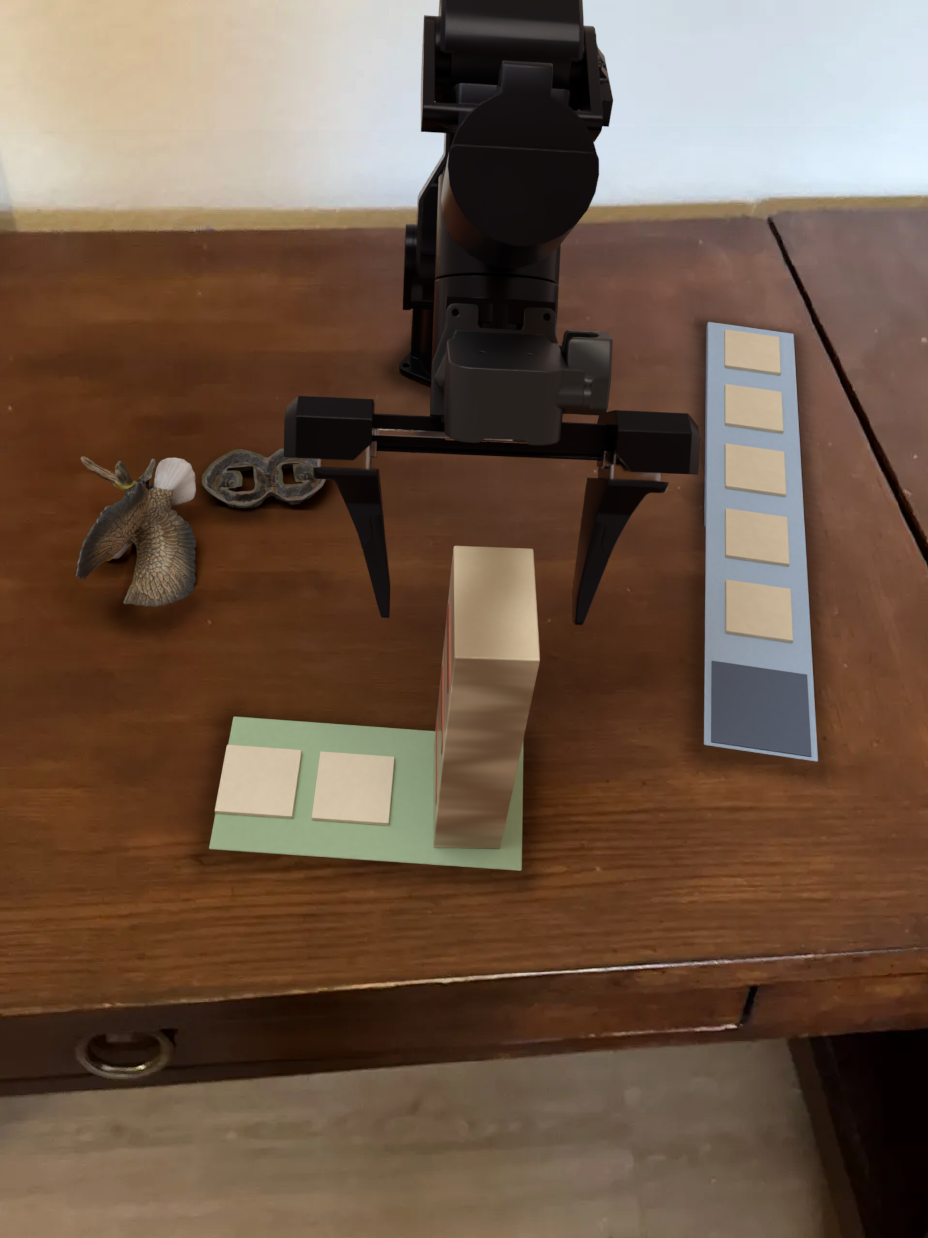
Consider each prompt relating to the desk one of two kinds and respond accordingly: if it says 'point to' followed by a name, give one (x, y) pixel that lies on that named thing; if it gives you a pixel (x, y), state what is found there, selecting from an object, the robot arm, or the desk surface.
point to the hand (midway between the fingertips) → (481, 620)
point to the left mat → (342, 795)
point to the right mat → (755, 549)
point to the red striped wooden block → (483, 693)
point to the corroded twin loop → (260, 478)
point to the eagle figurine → (146, 531)
